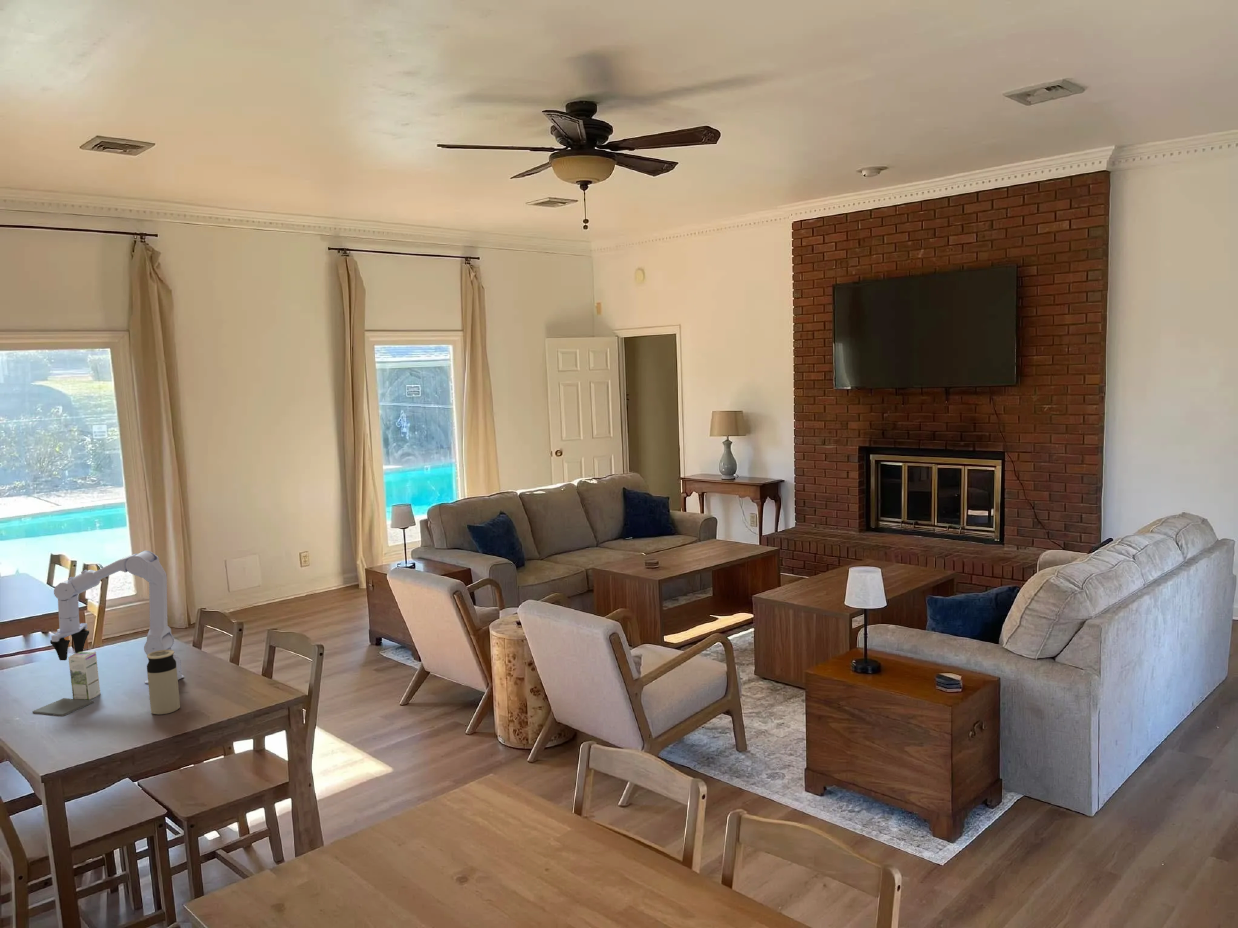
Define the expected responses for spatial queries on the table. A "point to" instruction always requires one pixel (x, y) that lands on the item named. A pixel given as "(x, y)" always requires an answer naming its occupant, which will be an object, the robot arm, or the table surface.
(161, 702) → the travel mug
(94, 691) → the syrup box
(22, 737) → the table surface
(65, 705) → the mat
